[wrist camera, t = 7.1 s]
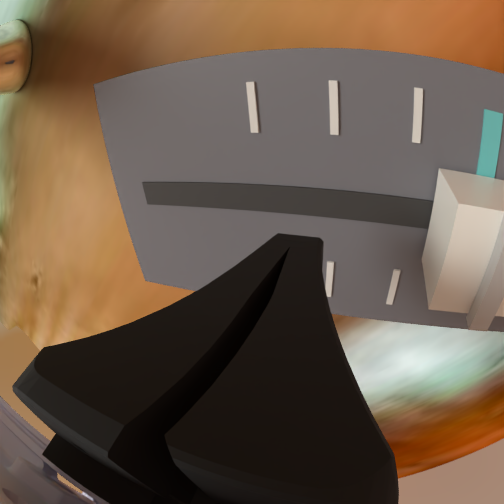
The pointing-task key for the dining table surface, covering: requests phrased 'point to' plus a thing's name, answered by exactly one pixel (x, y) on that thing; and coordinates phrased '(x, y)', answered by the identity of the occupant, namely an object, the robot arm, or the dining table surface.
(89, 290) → the dining table surface
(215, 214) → the console
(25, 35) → the beer glass
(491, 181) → the fader tab
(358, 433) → the robot arm
